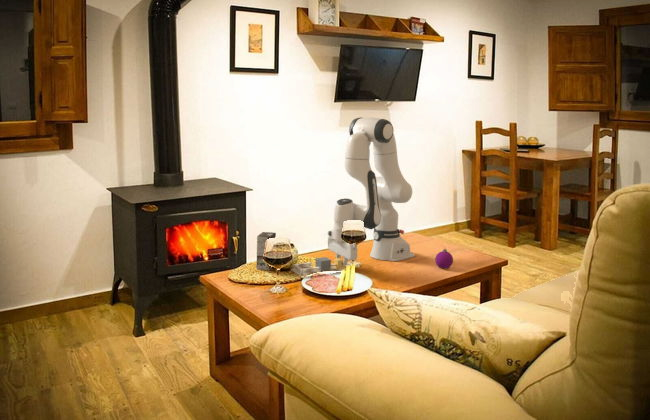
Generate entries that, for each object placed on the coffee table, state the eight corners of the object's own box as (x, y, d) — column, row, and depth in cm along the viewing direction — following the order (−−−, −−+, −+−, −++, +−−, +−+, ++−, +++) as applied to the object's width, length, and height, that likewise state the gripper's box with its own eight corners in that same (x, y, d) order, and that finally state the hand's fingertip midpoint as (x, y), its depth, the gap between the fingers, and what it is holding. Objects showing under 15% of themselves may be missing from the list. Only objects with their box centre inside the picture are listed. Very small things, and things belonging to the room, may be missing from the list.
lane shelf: (339, 264, 283) (339, 256, 282) (354, 272, 272) (355, 264, 271) (289, 271, 270) (290, 263, 269) (303, 280, 259) (304, 271, 258)
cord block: (337, 265, 277) (338, 255, 276) (343, 268, 273) (343, 258, 272) (315, 268, 272) (315, 258, 271) (320, 272, 267) (321, 261, 266)
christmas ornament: (446, 272, 278) (448, 251, 276) (431, 267, 283) (432, 247, 281) (455, 268, 284) (457, 247, 282) (440, 264, 289) (442, 244, 287)
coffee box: (269, 272, 267) (270, 237, 264) (256, 271, 269) (256, 236, 265) (275, 266, 276) (276, 232, 273) (262, 265, 277) (262, 231, 274)
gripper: (361, 239, 265) (360, 270, 268) (337, 229, 282) (336, 257, 285) (349, 241, 262) (348, 271, 265) (325, 230, 279) (324, 259, 282)
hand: (341, 264), depth 275 cm, fingers closed on cord block, 3 cm apart
